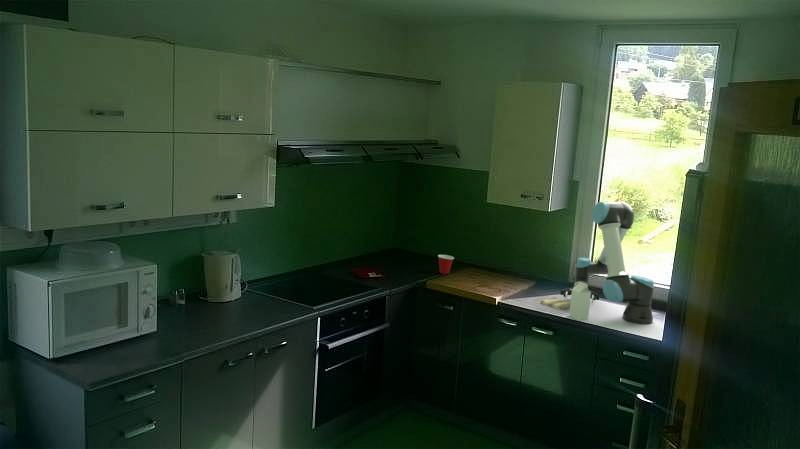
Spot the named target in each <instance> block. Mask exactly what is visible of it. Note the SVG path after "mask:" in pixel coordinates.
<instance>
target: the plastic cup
mask: <svg viewBox="0 0 800 449" xmlns="http://www.w3.org/2000/svg"><path fill="white" fill-rule="evenodd" d="M437 258H438V265H439V274H440V273H442V274H447V273H449V274H450V270H451V267H452V264H453V261H454V259H455V257H454V256H452V255H448V254H438V255H437ZM442 274H441V275H442Z"/></svg>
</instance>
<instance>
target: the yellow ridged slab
mask: <svg viewBox="0 0 800 449" xmlns="http://www.w3.org/2000/svg"><path fill="white" fill-rule="evenodd" d="M570 303H571V300H567V299H563V298H559V297H556V296H552V297H550V298H545V299H542V300H540V304H542V305H545V306H548V307H552V308H556V309H559V310H562V311H565V310H570Z"/></svg>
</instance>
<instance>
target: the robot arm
mask: <svg viewBox="0 0 800 449" xmlns="http://www.w3.org/2000/svg"><path fill="white" fill-rule="evenodd" d="M591 219H592V221H593V222H594V223H596V224H597V227H598V229H600V230H601V233H602V240H603V248H602V250H601V253H600V255H599V256H598V259H597V260H596V261H592V260H591V259H590V258H587V257H579V258H578V259H577V261H576V266H575V267H576V268H575V277H574V284H573V288H574V287H575V286H576V285H577V284H578V282H581V283H583V284H585V285H586V286H587V287H589V280H590V279H589V278H590V276H591V275H593V276H594V275H606V277H605V281H604V282H603V283H602V284H603V285H602V292H603V295H604V297H605V298H606V300H608V301H609V302H612V303H625V302H627V305H626V307H625V308H624V311H623V313H622V318H623V319H624V320H626V321H627V322H631V323H634V324H641V325H643V324H644V325H646V324H647V325H649V324H652V323H653V322H654V315H653V312H652V300H653V293H654V289H655V288H654V285H655V283H654V280H652V279H650V278H647V277H644V276H640V275H631V277H630V275H629V274H628V273H627V272H626V268H625V267H626V266H625V261H624V256H623V250H622V249H623V248H622V242H623V240H624V238H625V236H626V233H627V232H628V230H631V228H632V227H633V223H634V220H635V214H634V210H633V207H632V206H631V205H630V204H629V203H627V202H624V201H599V202H596V203H595V205H594V206H593V209H592V211H591ZM587 289H588V290H589V288H587ZM589 291H590V292H591V296H590V300H591V304H594V301H599V300H600V295H599V294H598V293H597V292H594V290H589ZM571 294H572V288H571V287H566V288H563V289H561V290H560V294H559V295H560V296H563V298H564V300H567V299H568V296H571Z"/></svg>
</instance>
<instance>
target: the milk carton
mask: <svg viewBox="0 0 800 449" xmlns="http://www.w3.org/2000/svg"><path fill="white" fill-rule="evenodd" d="M588 287H589V286H588ZM588 287H587V286H586V285H585V284H583V283H581V282H578V284H577V285H576V286H575V287H574V286H573V288H571V289H572V294H571V295H570V302H571V303H570V308H569V315H568V316H569V317H571V318H572V319H574V320H576V321H580V320H581V321H583V320H589V312H590V304H591V298H590V296H591V292H590V291H591V290H589V288H588ZM587 288H588V289H587Z"/></svg>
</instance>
